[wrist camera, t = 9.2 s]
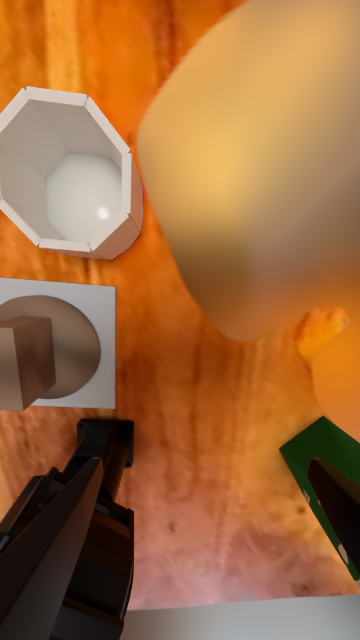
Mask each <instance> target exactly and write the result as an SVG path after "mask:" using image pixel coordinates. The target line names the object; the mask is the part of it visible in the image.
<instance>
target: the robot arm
mask: <svg viewBox="0 0 360 640" xmlns="http://www.w3.org/2000/svg"><path fill="white" fill-rule="evenodd" d="M77 435H78V447H77V448H76V450H75V452H74V453H73V455H72V457H71V458H70V460H69V462H68V463H67V465H66V467H65V469H64V470H63V472H62V473H61V472H59V471H58V469H57V468H55V467H52V468H51V469H50V470H49V471H48V473H47V474H46V475H40V476H33V478H32V479H31V480H30V481H29V483H28V484H27V485H26V487H25V488H24V489H23V491H22V492H21V493H20V495H19V496H18V498H17V499H16V500H15V502H14V503H13V505H12V506H11V507H10V509H9V510H8V512H7V513H6V515H5V516H4V518H3V519H2V521H1V522H0V640H119V639H120V636H121V633H122V631H123V627H124V616H125V614H126V610H127V607H128V603H129V599H130V594H131V589H132V583H133V573H134V511H133V510H131V509H129V508H128V509H126V508H125V507H123V506H121V505H119V504H117V503H116V502H115V500H116V496H117V492H118V489H119V485H120V481H121V477H122V474H123V470H124V468H130V467H131V466H132V463H133V443H134V423H133V422H132V421H116V420H92V419H81V420H80V421H79V422H78V424H77ZM307 476H308V479H309V482H310V484H311V486H312V488H313V490H314V492H315V494H316V496H317V498H318V500H319V502H320V504H321V506H322V508H323V510H324V512H325V514H326V516H327V518H328V520H329V522H330V524H331V526H332V528H333V530H334V532H335V534H336V536H337V537H338V539H339V541H340V543H341V545H342V546H343V548H344V550H345V552H346V553H347V555H348V557H349V559H350V560H351V562H352V564H353V566H354V567H355V569H356V571H357V573H358V574H359V576H360V487H359V486H358V485H357V484H355V483H354V482H353V481H351V480H350V479H349V478H347V477H346V476H344V475H343V474H342V473H340V472H339V471H338V470H336V469H335V468H334V467H332V466H331V465H330V464H328V463H327V462H326V461H324V460H323V459H320V458H312V459H310V462H309V466H308V470H307Z"/></svg>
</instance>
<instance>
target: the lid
mask: <svg viewBox="0 0 360 640" xmlns="http://www.w3.org/2000/svg"><path fill="white" fill-rule="evenodd" d="M100 357H101V347H100V341H99V337H98V334H97V332H96V330H95V328H94V326H93V324H92V323H91V322H90V320H89V319H88V318H87V317H86V315H85V314H84V313H82V312H81V311H80V310H79V309H78V308H76V307H75V306H73V305H72V304H70V303H68V302H66V301H64V300H62V299H59V298H56V297H52V296H45V295H32V296H22V297H17V298H13V299H11V300H8V301H6V302H4V303H3V304H1V305H0V410H12V411H24V410H25V409H26V408H27V407H29V406H30V405H31V404H32V403H33V402H34V401H36V400H37V399H59V398H63V397H66V396H69V395H71V394H73V393H75V392H77V391H78V390H80V389H81V388H82V387H83V386H84V385H85V384H86V383H87V382H88V381H89V380H90V379H91V378H92V376H93V375H94V374H95V372H96V370H97V368H98V365H99V362H100Z"/></svg>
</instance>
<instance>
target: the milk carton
mask: <svg viewBox="0 0 360 640" xmlns="http://www.w3.org/2000/svg"><path fill="white" fill-rule="evenodd" d="M279 450H280V452H281V453H282V455H283V457H284V459H285V461H286V463H287V465H288V466H289V468H290V470H291V472H292V474H293V476H294V478H295V480H296V482H297V483H298V485H299V487H300V489H301V491H302V493H303V495H304V497H305V499H306V500H307V502H308V504H309V506H310V508H311V509H312V511H313V513H314V514H315V516H316V518H317V519H318V521H319V523H320V524H321V526H322V528H323V529H324V531H325V533H326V534H327V536H328V538H329V539H330V541H331V543H332V544H333V546H334V548H335V549H336V551H337V552H338V554H339V556H340V557H341V559H342V561H343V562H344V564H345V566H346V567H347V569H348V571H349V572H350V574H351V576H352V577H353V579H354V580H355V582H356V584H357V585H358V587H359V589H360V576H359V574H358V573H357V571H356V569H355V567H354V566H353V564H352V562H351V560H350V559H349V557H348V555H347V553H346V552H345V550H344V548H343V546H342V545H341V543H340V541H339V539H338V537H337V536H336V534H335V532H334V530H333V528H332V526H331V524H330V522H329V520H328V518H327V516H326V514H325V512H324V510H323V508H322V506H321V504H320V502H319V500H318V498H317V496H316V494H315V492H314V490H313V488H312V486H311V484H310V482H309V479H308V476H307V470H308V466H309V462H310V459H312V458H320V459H323V460H324V461H326V462H327V463H328V464H330V465H331V466H332V467H334V468H335V469H336V470H338V471H339V472H340V473H342V474H343V475H344V476H346V477H347V478H349V479H350V480H351V481H353V482H354V483H355V484H357V485H358V486H359V487H360V443H359V442H357V441H356V440H355V439H353V438H352V437H351V436H349V435H348V434H347V433H345V432H344V431H343V430H341V429H340V428H339V427H337V426H336V425H335V424H333V423H332V422H330V421H329V420H328V419H327V418H325V417H322V418H321V419H319V420H318V421H317V422H315V423H314V424H313V425H311V426H310V427H308V428H307V429H306V430H304V431H303V432H302V433H300V434H299V435H298V436H296V437H295V438H294V439H292V440H291V441H290V442H288V443H287V444H286V445H284V446H283V447H281V448H280V449H279Z"/></svg>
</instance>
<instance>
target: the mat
mask: <svg viewBox="0 0 360 640" xmlns="http://www.w3.org/2000/svg"><path fill="white" fill-rule="evenodd" d="M32 295H45V296H52V297H56V298H59V299H62V300H64V301H66V302H68V303H70V304H72V305H73V306H75V307H76V308H78V309H79V310H80V311H81V312H82V313H84V314H85V315H86V317H87V318H88V319H89V320H90V322H91V323H92V324H93V326H94V328H95V330H96V332H97V334H98V337H99V341H100V347H101V357H100V362H99V365H98V368H97V370H96V372H95V374H94V375H93V376H92V378H91V379H90V380H89V381H88V382H87V383H86V384H85V385H84V386H83V387H82V388H81V389H80V390H78V391H77V392H75V393H73V394H71V395H69V396H66V397H63V398H59V399H37V400H36V401H34V402H33V403H32V404H31V405H37V406H59V407H82V408H105V409H115V407H116V287H113V286H101V285H88V284H76V283H63V282H51V281H39V280H26V279H14V278H1V277H0V305H1V304H3V303H4V302H6V301H8V300H11V299H13V298H17V297H22V296H32Z"/></svg>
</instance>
